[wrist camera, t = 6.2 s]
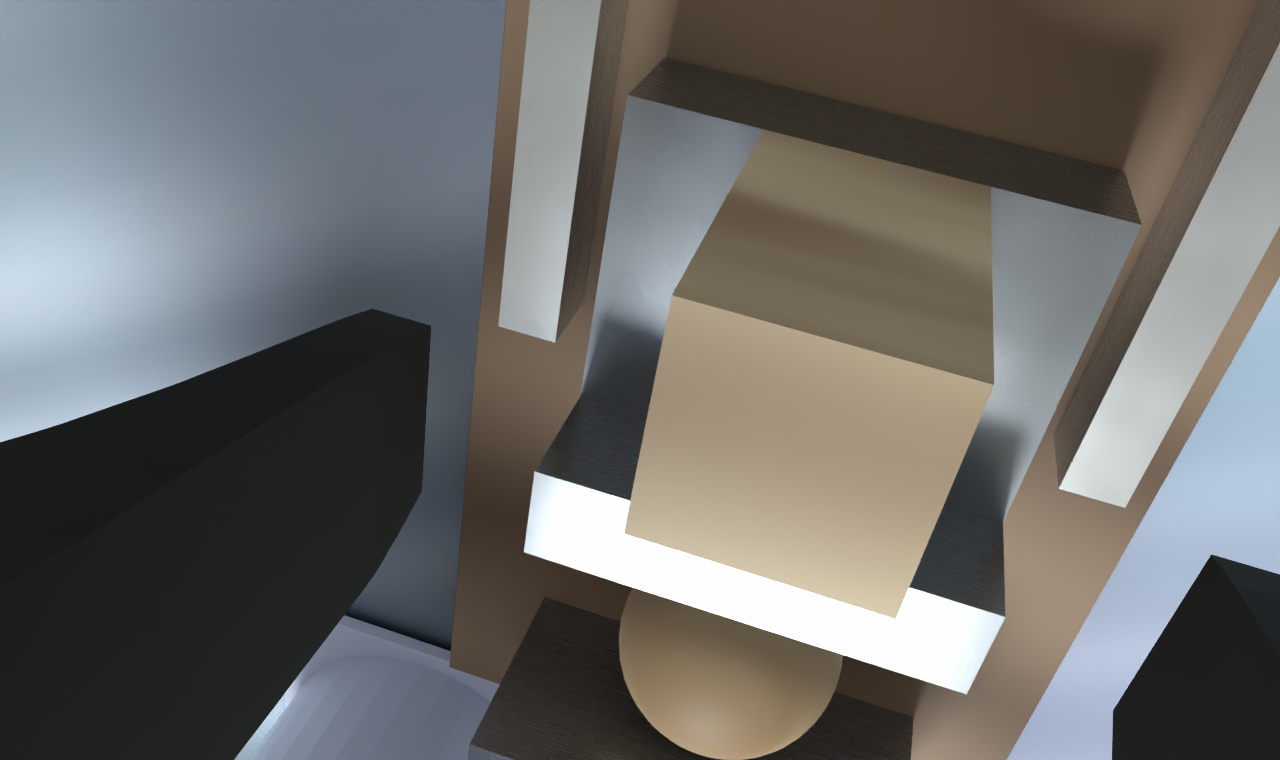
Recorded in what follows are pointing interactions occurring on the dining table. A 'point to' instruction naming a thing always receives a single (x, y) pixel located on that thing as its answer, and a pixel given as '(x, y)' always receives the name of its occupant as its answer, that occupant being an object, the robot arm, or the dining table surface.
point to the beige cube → (824, 365)
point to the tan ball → (721, 678)
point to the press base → (927, 91)
